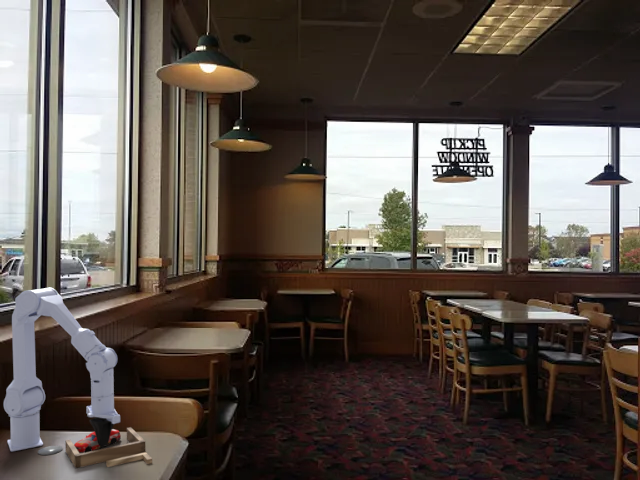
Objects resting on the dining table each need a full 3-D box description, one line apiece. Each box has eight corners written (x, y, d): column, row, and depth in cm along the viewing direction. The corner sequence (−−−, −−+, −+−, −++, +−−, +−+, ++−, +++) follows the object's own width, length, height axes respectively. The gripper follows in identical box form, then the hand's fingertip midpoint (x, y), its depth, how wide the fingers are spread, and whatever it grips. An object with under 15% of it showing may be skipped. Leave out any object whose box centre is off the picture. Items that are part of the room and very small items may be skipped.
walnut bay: (65, 451, 151) (65, 440, 151) (131, 437, 161) (130, 427, 161) (75, 468, 139) (75, 456, 139) (145, 452, 149) (145, 441, 149)
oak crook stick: (111, 472, 137) (111, 467, 137) (106, 465, 141) (106, 461, 141) (152, 463, 142) (152, 458, 142) (146, 456, 147) (145, 452, 147)
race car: (80, 456, 148) (79, 441, 148) (69, 452, 151) (68, 437, 151) (123, 441, 158) (123, 427, 158) (112, 437, 161) (112, 423, 161)
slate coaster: (36, 449, 152) (36, 448, 152) (60, 445, 156) (60, 443, 156) (39, 456, 147) (39, 455, 147) (64, 451, 151) (64, 450, 151)
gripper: (75, 393, 153) (76, 442, 153) (102, 402, 144) (103, 455, 144) (99, 387, 159) (100, 435, 159) (127, 396, 149) (127, 447, 149)
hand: (103, 444), depth 152 cm, fingers closed
